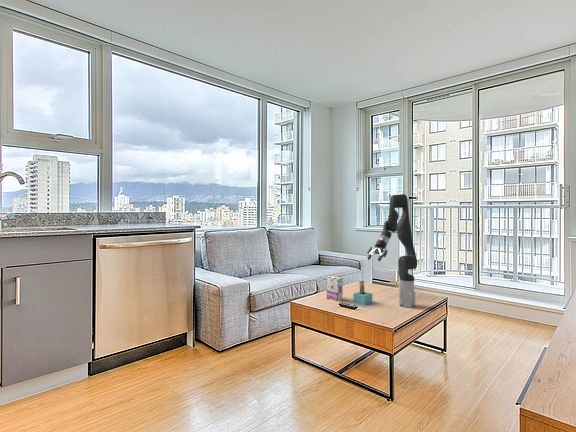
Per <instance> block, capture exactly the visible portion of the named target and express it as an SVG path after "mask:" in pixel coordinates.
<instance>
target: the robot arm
mask: <svg viewBox="0 0 576 432" xmlns="http://www.w3.org/2000/svg"><path fill="white" fill-rule="evenodd" d="M408 200H409V199H408V197H407V195H406V194H405V193H403V194H402V193H401V194H393V195H391V196H390V199H389V206H388V207H389V208H388V209H389V210H388V211H389V212H388V218H387V220H386V221H384V224H383V228H382V232H381V234H380V236H379V237H378V239H377V240H376V243H375V244H374V247H372V246H370V247H369V248H368V250H367V252H366V253H367V254H368V255H367V259H368V261H369V260H371V258H372V256H375V255H379V256H378V257H377V261H378V262H380V261H382V258H386V257H387V255H388V253H389V252H388V249H387V246H388V245H389V241H390V239H391V237H392V233H395V232H396V234H397V238H398V240H399V242H401V244H402V245H403V247H404V248H405V249H404V250H405V252H406V255H400V256H399V257H398V260H397V265H398V278H399V285H398V287H399V289H398V290H399V291H398V292H399V295H398V296H399V299H398V304H399V306H400V307H404V308H409V309H410V308H413V307H415V306H416V291H415V276H414V275H413V274H410V273H409V271H411V270H415V269H417V266H418V259H417V255H416V254H417V253H416V251H415V246H414V245H415V244H414V241H413V233H412V227H411V220H410V212H409V201H408ZM400 208H401V209H402V212H401V216H400V218H399V213H398V211H397V210H396V209H400Z"/></svg>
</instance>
